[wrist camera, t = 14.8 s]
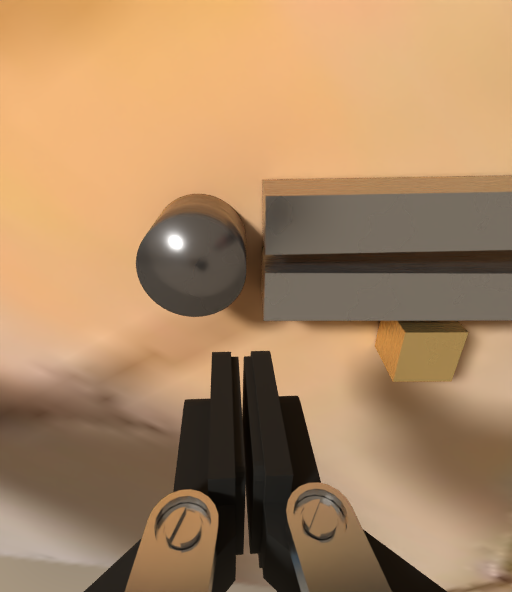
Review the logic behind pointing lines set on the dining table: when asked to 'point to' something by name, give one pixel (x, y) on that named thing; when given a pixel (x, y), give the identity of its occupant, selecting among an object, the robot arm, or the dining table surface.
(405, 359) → the tab
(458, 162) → the dining table surface
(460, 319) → the tong fixed
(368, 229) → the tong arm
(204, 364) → the dining table surface
